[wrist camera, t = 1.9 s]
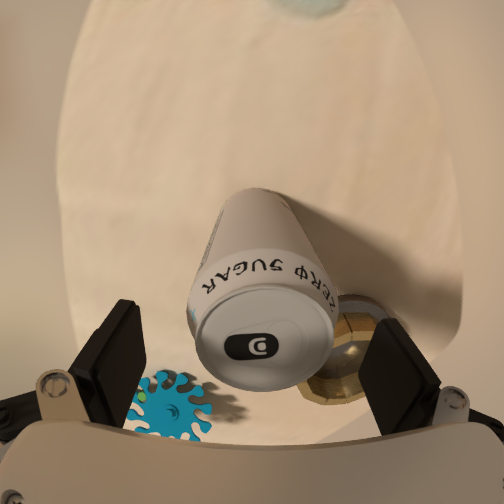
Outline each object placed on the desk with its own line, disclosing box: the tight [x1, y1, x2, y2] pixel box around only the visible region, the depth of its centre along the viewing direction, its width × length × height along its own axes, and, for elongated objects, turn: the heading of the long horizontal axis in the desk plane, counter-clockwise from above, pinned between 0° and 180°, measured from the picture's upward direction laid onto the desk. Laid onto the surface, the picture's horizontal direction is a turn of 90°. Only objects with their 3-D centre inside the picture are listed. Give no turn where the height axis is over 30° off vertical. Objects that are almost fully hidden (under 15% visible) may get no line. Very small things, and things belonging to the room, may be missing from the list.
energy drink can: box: [186, 188, 339, 392], centre depth 16 cm, size 6×6×15 cm
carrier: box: [297, 295, 390, 405], centre depth 26 cm, size 12×12×4 cm
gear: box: [127, 371, 212, 442], centre depth 29 cm, size 11×6×10 cm
